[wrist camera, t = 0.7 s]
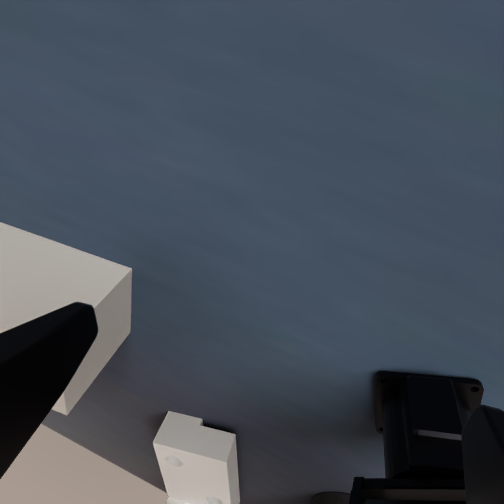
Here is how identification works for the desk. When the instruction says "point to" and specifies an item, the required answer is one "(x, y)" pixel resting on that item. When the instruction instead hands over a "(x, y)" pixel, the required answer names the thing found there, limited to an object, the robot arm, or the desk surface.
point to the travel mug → (331, 498)
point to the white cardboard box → (64, 296)
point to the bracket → (197, 461)
